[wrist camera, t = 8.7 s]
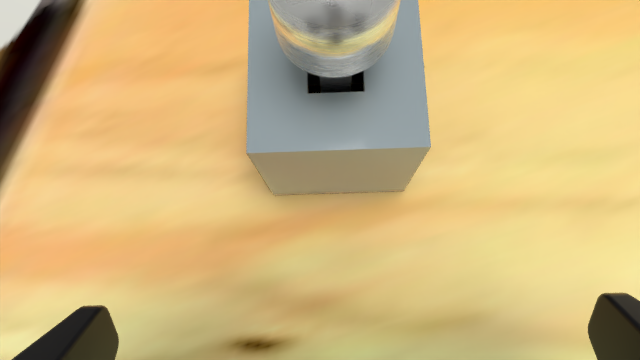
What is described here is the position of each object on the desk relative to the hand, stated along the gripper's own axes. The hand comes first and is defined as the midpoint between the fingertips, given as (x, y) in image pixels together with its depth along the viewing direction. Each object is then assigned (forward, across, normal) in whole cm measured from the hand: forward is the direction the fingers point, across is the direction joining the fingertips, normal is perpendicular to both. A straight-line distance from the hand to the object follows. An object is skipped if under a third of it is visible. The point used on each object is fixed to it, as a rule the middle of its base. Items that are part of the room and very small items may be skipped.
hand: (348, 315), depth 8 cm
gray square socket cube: (+13, 0, +2) cm, 13 cm away
